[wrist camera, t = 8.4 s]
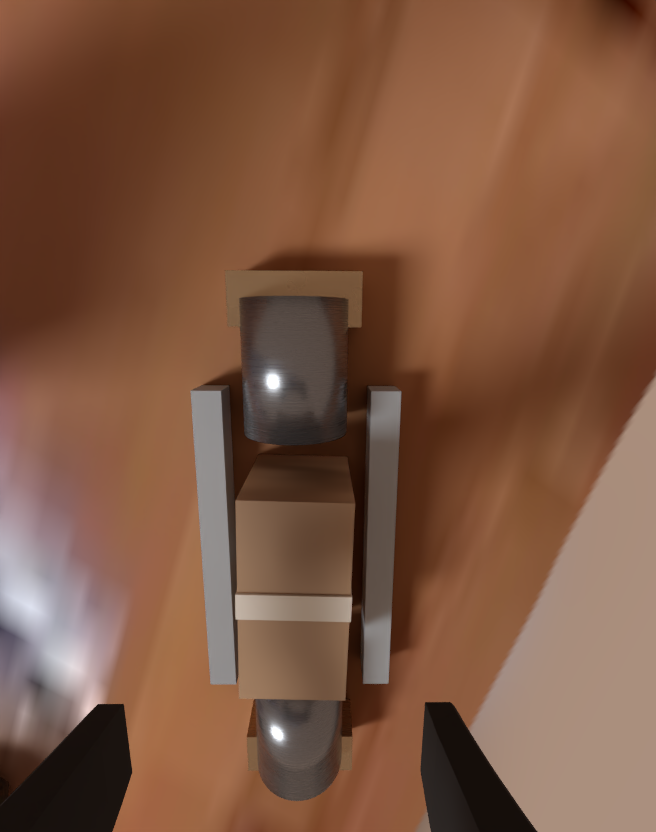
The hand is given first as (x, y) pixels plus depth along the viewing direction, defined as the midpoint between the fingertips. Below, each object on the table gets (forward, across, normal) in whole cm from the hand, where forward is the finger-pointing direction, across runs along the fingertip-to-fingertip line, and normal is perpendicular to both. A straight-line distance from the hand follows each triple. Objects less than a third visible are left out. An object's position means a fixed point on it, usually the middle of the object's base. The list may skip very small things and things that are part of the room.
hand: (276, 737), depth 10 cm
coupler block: (+10, 0, 0) cm, 10 cm away
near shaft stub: (+10, 0, -8) cm, 13 cm away
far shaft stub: (+10, 0, +8) cm, 13 cm away
